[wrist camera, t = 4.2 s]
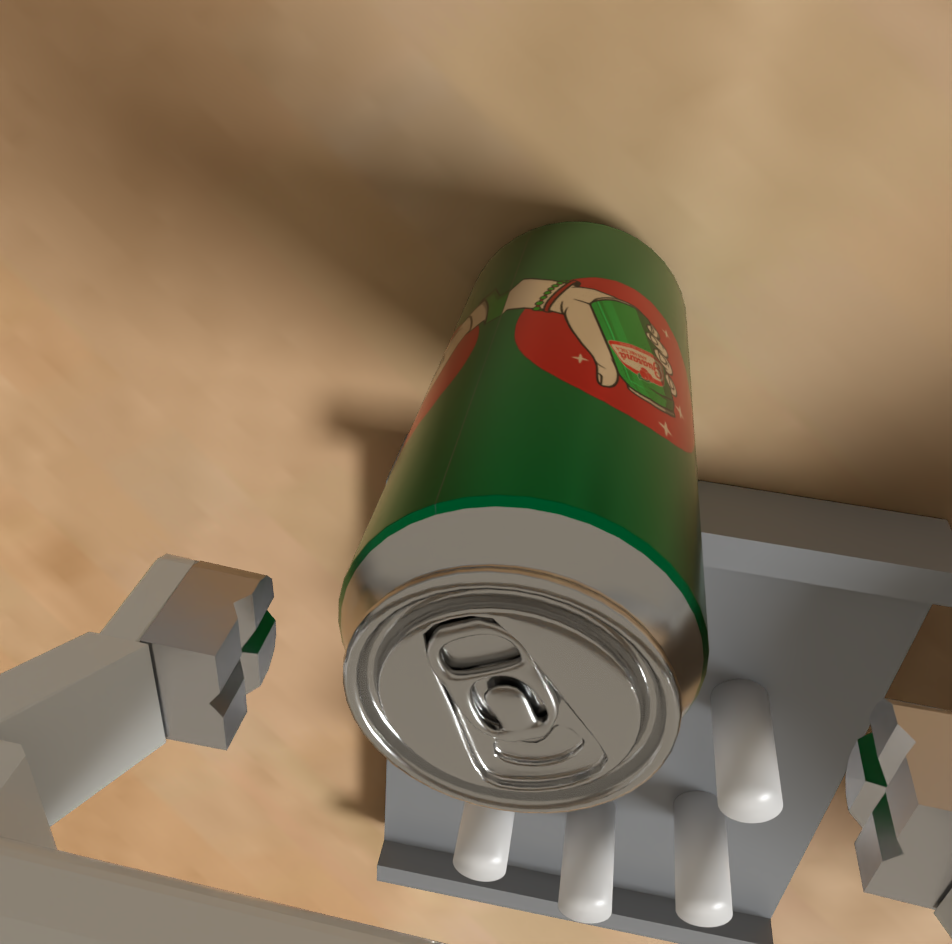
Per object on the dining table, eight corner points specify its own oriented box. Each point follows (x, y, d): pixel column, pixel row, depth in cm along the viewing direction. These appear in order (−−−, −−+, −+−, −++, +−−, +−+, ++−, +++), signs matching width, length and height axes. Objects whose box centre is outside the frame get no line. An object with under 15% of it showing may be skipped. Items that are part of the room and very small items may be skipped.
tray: (391, 827, 34) (358, 948, 30) (406, 434, 23) (358, 542, 20) (759, 901, 32) (773, 1038, 29) (947, 519, 22) (1007, 654, 18)
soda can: (522, 434, 23) (422, 851, 13) (436, 260, 21) (237, 608, 11) (713, 374, 21) (764, 807, 11) (642, 176, 19) (628, 503, 9)
